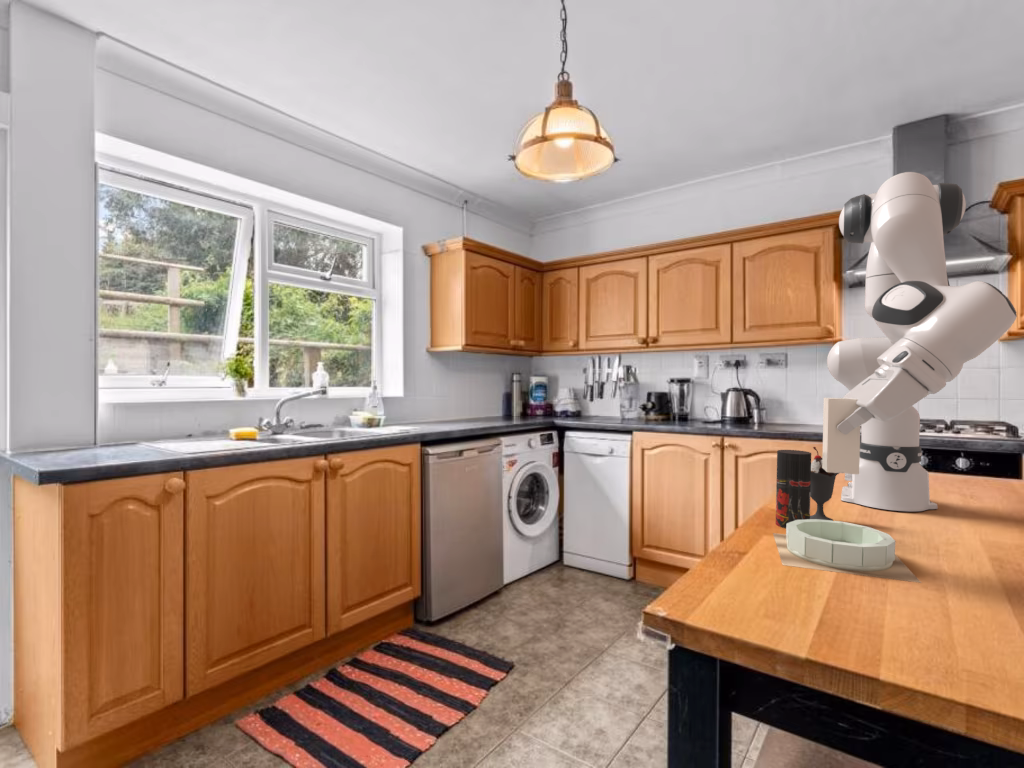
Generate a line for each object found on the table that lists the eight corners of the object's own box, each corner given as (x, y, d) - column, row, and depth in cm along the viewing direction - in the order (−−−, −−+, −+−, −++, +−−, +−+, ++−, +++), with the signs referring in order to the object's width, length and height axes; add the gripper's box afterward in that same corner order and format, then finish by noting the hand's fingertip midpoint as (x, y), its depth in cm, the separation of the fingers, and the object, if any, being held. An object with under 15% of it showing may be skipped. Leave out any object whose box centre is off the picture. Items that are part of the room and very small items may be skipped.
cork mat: (772, 535, 101) (772, 533, 101) (886, 547, 94) (886, 545, 94) (782, 567, 84) (782, 564, 84) (921, 585, 78) (921, 582, 78)
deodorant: (814, 533, 102) (815, 454, 102) (780, 531, 104) (782, 453, 103) (803, 524, 108) (805, 450, 108) (772, 522, 109) (773, 449, 109)
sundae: (807, 513, 117) (808, 444, 116) (842, 519, 112) (844, 448, 112) (796, 519, 112) (798, 447, 112) (833, 526, 107) (834, 451, 107)
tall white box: (822, 467, 92) (823, 397, 92) (852, 469, 90) (854, 398, 90) (826, 472, 88) (828, 398, 87) (859, 474, 86) (860, 399, 86)
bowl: (782, 536, 99) (783, 515, 99) (878, 546, 93) (879, 525, 93) (792, 563, 85) (792, 539, 85) (905, 577, 79) (906, 551, 79)
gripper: (875, 358, 96) (811, 411, 99) (913, 354, 77) (832, 420, 80) (904, 383, 94) (839, 436, 98) (950, 386, 75) (866, 451, 79)
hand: (836, 429), depth 89 cm, fingers closed on tall white box, 4 cm apart
